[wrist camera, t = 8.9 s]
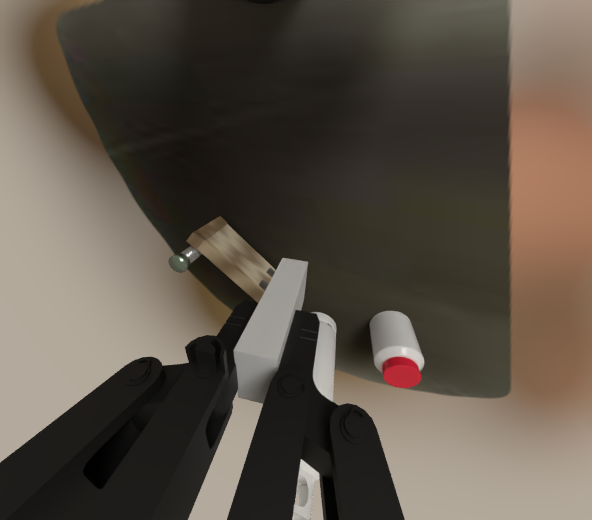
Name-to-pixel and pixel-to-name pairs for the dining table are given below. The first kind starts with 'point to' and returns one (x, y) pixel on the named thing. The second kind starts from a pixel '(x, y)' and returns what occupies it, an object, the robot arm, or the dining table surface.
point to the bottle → (325, 384)
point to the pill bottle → (396, 349)
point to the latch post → (184, 259)
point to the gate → (233, 257)
